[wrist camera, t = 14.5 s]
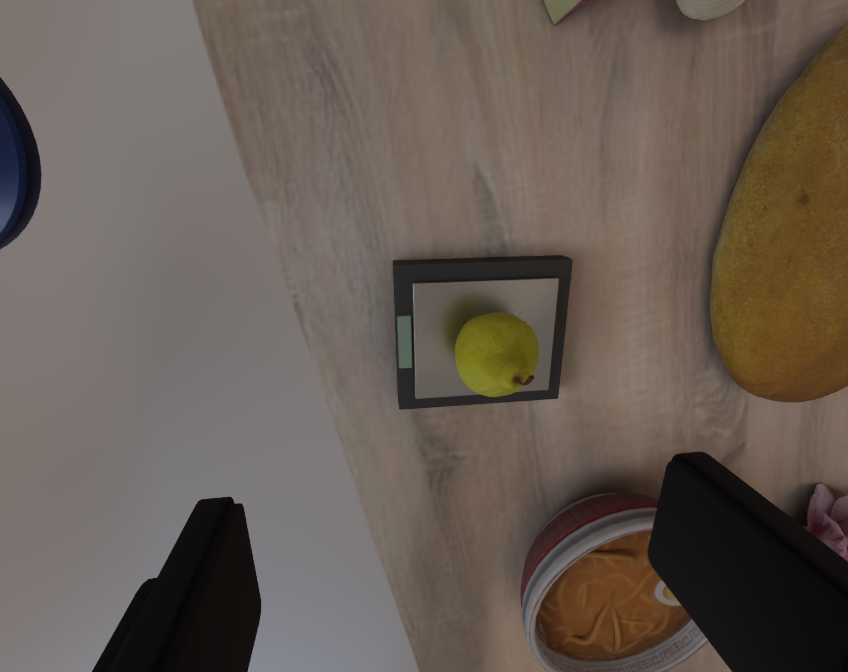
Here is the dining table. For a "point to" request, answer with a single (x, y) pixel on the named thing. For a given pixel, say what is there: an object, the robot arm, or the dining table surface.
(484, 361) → the fruit
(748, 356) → the bread
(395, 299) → the scale
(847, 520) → the flower
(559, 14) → the box
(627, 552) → the bowl
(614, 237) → the dining table surface
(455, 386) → the scale pan
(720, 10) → the seashell
